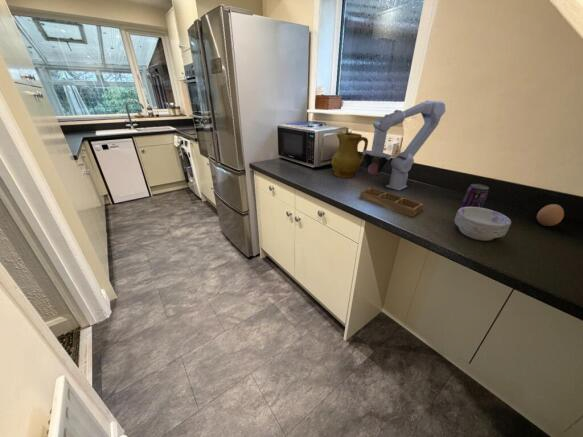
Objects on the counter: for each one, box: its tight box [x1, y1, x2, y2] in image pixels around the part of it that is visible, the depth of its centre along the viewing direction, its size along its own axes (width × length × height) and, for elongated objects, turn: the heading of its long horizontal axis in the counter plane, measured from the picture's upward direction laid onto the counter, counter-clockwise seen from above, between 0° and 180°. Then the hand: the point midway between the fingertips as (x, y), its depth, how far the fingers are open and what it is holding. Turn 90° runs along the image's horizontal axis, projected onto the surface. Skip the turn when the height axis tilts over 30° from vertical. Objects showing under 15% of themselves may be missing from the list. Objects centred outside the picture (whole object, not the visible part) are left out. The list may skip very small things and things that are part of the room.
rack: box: [359, 187, 424, 218], centre depth 107 cm, size 9×26×4 cm, turn 41°
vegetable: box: [367, 156, 379, 177], centre depth 120 cm, size 6×6×10 cm
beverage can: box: [459, 183, 490, 209], centre depth 98 cm, size 7×7×12 cm
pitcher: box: [331, 131, 369, 179], centre depth 140 cm, size 17×19×25 cm
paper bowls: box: [454, 207, 512, 242], centre depth 83 cm, size 15×15×8 cm
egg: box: [536, 203, 565, 227], centre depth 90 cm, size 7×7×9 cm
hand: (373, 170), depth 121 cm, fingers closed on vegetable, 6 cm apart
